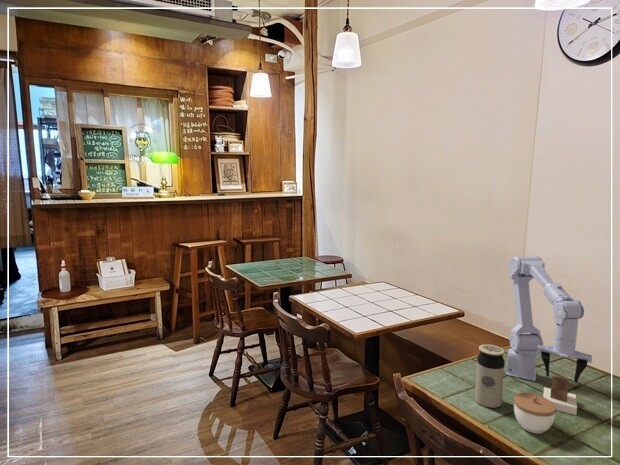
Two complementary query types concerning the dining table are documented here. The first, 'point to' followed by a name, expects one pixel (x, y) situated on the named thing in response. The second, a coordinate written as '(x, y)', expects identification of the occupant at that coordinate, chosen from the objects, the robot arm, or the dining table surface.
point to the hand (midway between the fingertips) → (561, 378)
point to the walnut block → (559, 388)
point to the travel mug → (489, 376)
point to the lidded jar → (534, 412)
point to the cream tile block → (562, 402)
